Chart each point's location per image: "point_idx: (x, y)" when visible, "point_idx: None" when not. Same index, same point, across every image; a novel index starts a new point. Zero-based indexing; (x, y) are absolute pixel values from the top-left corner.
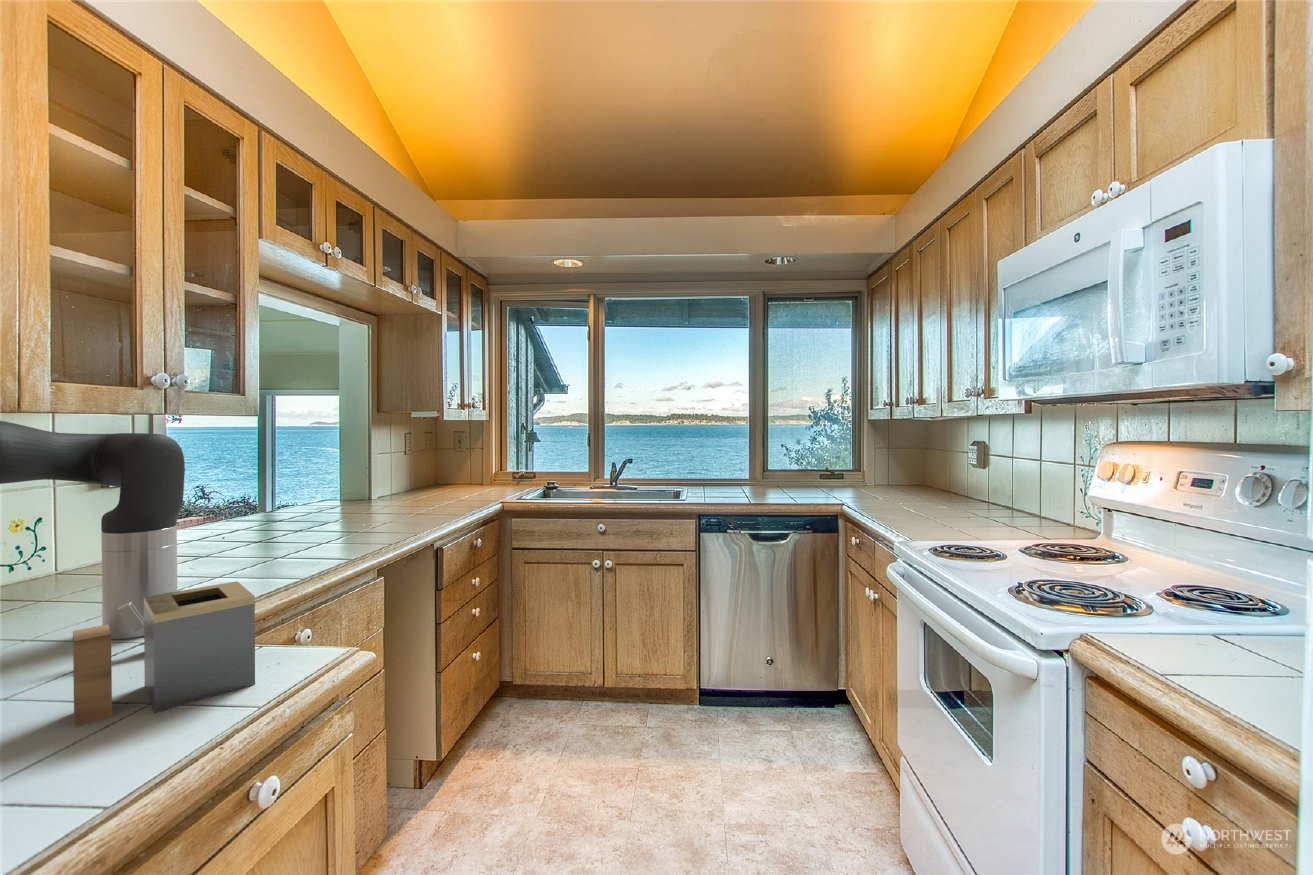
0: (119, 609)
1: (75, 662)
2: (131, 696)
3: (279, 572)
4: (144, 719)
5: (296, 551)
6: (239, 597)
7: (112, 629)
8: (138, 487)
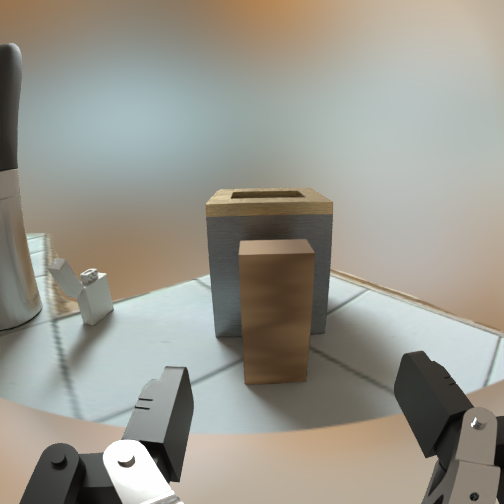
0: (59, 268)
1: (311, 291)
2: (241, 346)
3: None
4: (336, 338)
5: None
6: (305, 189)
7: (6, 316)
8: (6, 103)
